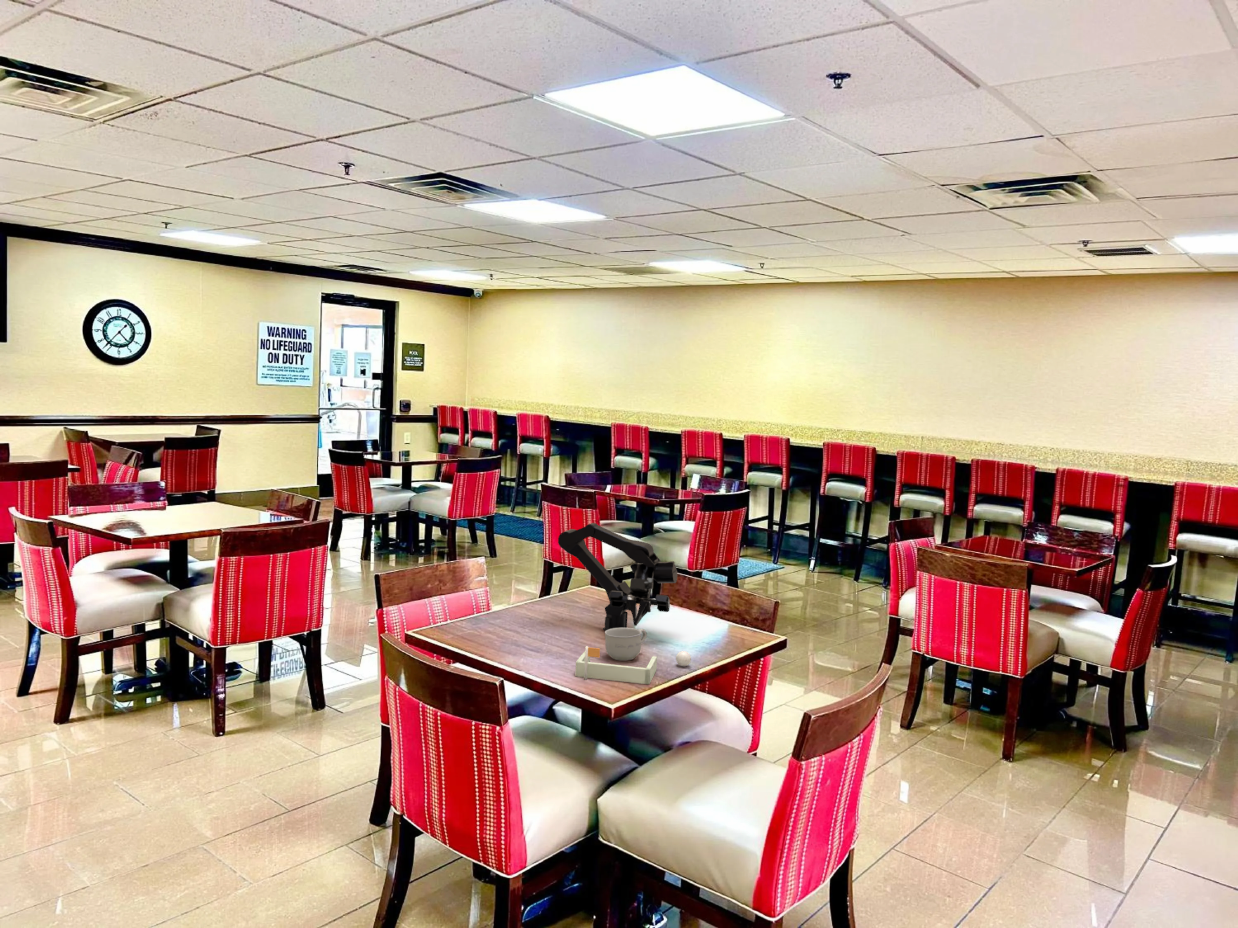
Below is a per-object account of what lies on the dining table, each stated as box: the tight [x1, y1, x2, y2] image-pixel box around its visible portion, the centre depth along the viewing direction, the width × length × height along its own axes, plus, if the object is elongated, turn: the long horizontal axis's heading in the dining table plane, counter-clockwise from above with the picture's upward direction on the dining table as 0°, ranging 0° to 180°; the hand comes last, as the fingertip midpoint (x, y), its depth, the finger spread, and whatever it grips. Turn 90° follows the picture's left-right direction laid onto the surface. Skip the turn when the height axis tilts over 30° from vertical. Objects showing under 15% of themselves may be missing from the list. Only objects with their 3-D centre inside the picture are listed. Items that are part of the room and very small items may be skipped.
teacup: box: [604, 627, 648, 662], centre depth 257 cm, size 14×11×8 cm
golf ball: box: [675, 650, 692, 667], centre depth 251 cm, size 4×4×4 cm
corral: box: [574, 645, 658, 685], centre depth 241 cm, size 14×20×9 cm
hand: (635, 624), depth 268 cm, fingers closed
